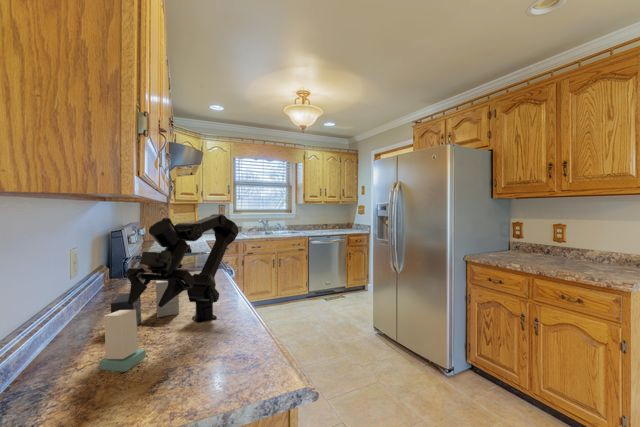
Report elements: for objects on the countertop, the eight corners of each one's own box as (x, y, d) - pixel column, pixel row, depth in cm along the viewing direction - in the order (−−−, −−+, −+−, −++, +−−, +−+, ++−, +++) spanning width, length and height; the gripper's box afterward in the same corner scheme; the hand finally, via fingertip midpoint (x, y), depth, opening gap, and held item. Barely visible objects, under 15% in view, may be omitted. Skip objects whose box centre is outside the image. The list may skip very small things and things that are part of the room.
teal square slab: (122, 355, 75) (122, 347, 75) (145, 357, 74) (145, 349, 74) (99, 369, 68) (99, 360, 68) (124, 371, 68) (124, 362, 67)
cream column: (122, 350, 73) (120, 310, 74) (138, 350, 73) (135, 309, 73) (106, 359, 69) (103, 315, 69) (122, 359, 68) (120, 315, 68)
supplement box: (178, 308, 115) (177, 276, 115) (179, 314, 108) (178, 280, 108) (156, 311, 112) (156, 278, 111) (156, 317, 105) (155, 282, 105)
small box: (119, 324, 99) (119, 293, 99) (141, 321, 102) (141, 291, 101) (109, 337, 89) (109, 302, 89) (134, 333, 92) (134, 300, 92)
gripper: (129, 239, 84) (93, 288, 74) (187, 240, 81) (159, 292, 70) (150, 261, 92) (121, 308, 82) (204, 263, 89) (181, 313, 78)
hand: (144, 305), depth 78 cm, fingers open, 9 cm apart
